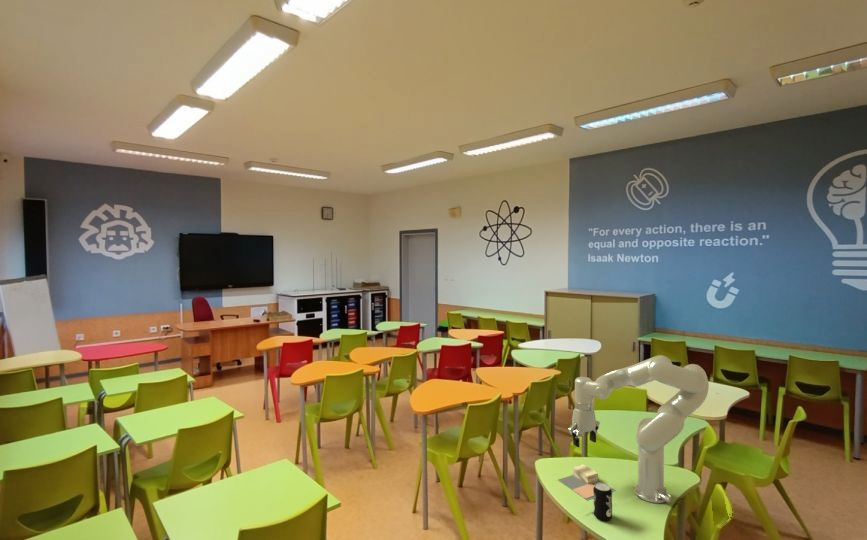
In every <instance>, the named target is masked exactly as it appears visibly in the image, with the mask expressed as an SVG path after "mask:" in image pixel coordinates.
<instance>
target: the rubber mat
mask: <svg viewBox="0 0 867 540" xmlns="http://www.w3.org/2000/svg"><path fill="white" fill-rule="evenodd" d="M557 481H559V483H562V484H563V485H564V486H565V487H567V488H569V489H570V490H571V491H572V492H574V493H576V494H577V495H579V496H580V497H581V498H583V499H584V500H586V501H591V500H594V495H593V488H594V486H595V483H598V482H602V483H604V482H603V481H601V480H599V479H598V481H597V482H594V483H590V484H586V483H585V482H583V481H582V480H580V479H578V478H577V477H575V476H574V475H573V474H570V475H568V476H566V477H561V478H559V479H557ZM611 490H612V493H613V492H617V489H615V488H613V487H611Z"/></svg>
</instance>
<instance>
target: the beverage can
mask: <svg viewBox="0 0 867 540" xmlns="http://www.w3.org/2000/svg"><path fill="white" fill-rule="evenodd" d="M602 482H603V481H601V482H598V483H595V486H594V488H593V495H594V499H593V515H594V517H595V518H596V519H598V521H602V522H608V521H609V522H610V520H612V519H613V492H612V490H611V488H612V487H611V485H609V484H608V483H606V482H603V483H602Z"/></svg>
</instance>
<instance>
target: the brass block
mask: <svg viewBox="0 0 867 540" xmlns="http://www.w3.org/2000/svg"><path fill="white" fill-rule="evenodd" d="M572 475H574V476H575V477H577V478H578V479H580V480H582V481H583V482H585V483H586V484H590V483H594V482H597V481H598V480H599V473H598V472H597V471H595V470H594V469H592V468H590V467H588V466H587V465H585V464H583V463H582V464H579V465H575V466H573V467H572Z"/></svg>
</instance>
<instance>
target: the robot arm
mask: <svg viewBox="0 0 867 540" xmlns="http://www.w3.org/2000/svg"><path fill="white" fill-rule="evenodd" d="M653 381H656V382H658V383H660V384H664V385H666V386H669V387H672V388H675V389H678V390H679V391H677V393H676V394H674V395H673V396H672V397H671V398H670V399H668V400H667V401H666V402H665V403H663V404H662V405H661V406H659V408H658V409H657V412H656V413H657V414H656V415H655V417H645V418H643V419H642V420H640V421H639V423H638V426H637V431H636V434H635V435H636V436H635V439H636V443H637V450H638V451H637V452H638V453H637V454H638V455H637V468H638V469H637V471H638V472H637V475H638V476H637V478H638V479H637V484H636V486H634V490H633V492H634V493H635V495H637V497H638V498H639V499H642V500H643V501H645V502H648V503H653V504H663V503H665V502H667V503H670V502H671V501H672V499H673V495H671V494H670V493H668V492H667V487H665V446H666V445H668V444H669V443H671V442H672V441H673V440H674V439H676V437H678V436H679V435H680V434H681V432H683V430H684V428H685V421H686V419H687V418H689V417H690V416H691V415H692V414H694V412H696V410H697V409H699V408H700V407H701V406H702V405H703V403H704V402H705V400H706V399H707V397H708V393H709V386H710V385H709V378H708V376H707V374H706V371H705V370H704V369H703V368H702V367H701V366H700V365H699V364H694V363H691V364H687V365H685V366H683V367H681V366H678V365H676V364H673V363H672V360H671V359H670V358H669V357H667V356H665V355H660V354H659V355H655V356H653V357H650V358H647V359H645V360H642V361H640V362H638V363H637V362H636V363H635V364H632V365H629V366H626V367H623V368H619V369H616V370H613V371H610V372H608V373H606V374H602V375H600V376H598V377H597V379H595V381H593V379H592V378H590V377H587V376H586V377H585V376H578V377H576V378H575V380H574V404H575V405H574V409H573V412H572V418H571V424H572V425H570V426H569V428H568V431H569V435H570V436H571V437H572V442H573V443H572V444H573V446H575V447H576V448H580V435H581V434H584V433H589V441H590V442H593V443H597V433H598V430H599V429H600V428H599V426H600V425H601V422H600V421H598V420H596V413H595V409H594V404H595V402H594V399H598V400H605V399H607V398H609V397H610V395H611V393H612V391H615V390H617V389H620V388H623V387H627V386H633V387H640V386H642V385H645V384H649V383H651V382H653Z"/></svg>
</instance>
